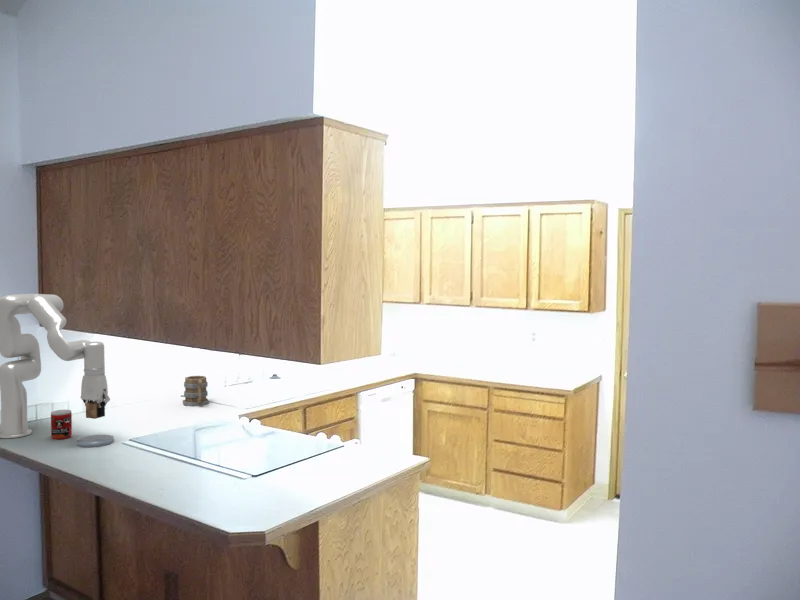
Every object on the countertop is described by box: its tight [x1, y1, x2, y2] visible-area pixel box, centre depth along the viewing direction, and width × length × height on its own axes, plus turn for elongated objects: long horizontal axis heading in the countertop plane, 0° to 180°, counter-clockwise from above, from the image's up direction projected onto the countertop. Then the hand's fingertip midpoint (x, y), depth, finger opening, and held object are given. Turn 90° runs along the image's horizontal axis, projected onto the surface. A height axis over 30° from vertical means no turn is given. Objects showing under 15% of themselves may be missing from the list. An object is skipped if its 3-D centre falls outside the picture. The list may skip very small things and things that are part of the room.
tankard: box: [182, 375, 210, 407], centre depth 335 cm, size 20×13×15 cm, turn 25°
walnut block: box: [85, 401, 106, 420], centre depth 263 cm, size 5×5×6 cm
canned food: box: [50, 409, 73, 441], centre depth 271 cm, size 8×8×11 cm
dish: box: [75, 434, 115, 449], centre depth 264 cm, size 14×14×2 cm
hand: (95, 415), depth 264 cm, fingers closed on walnut block, 5 cm apart
